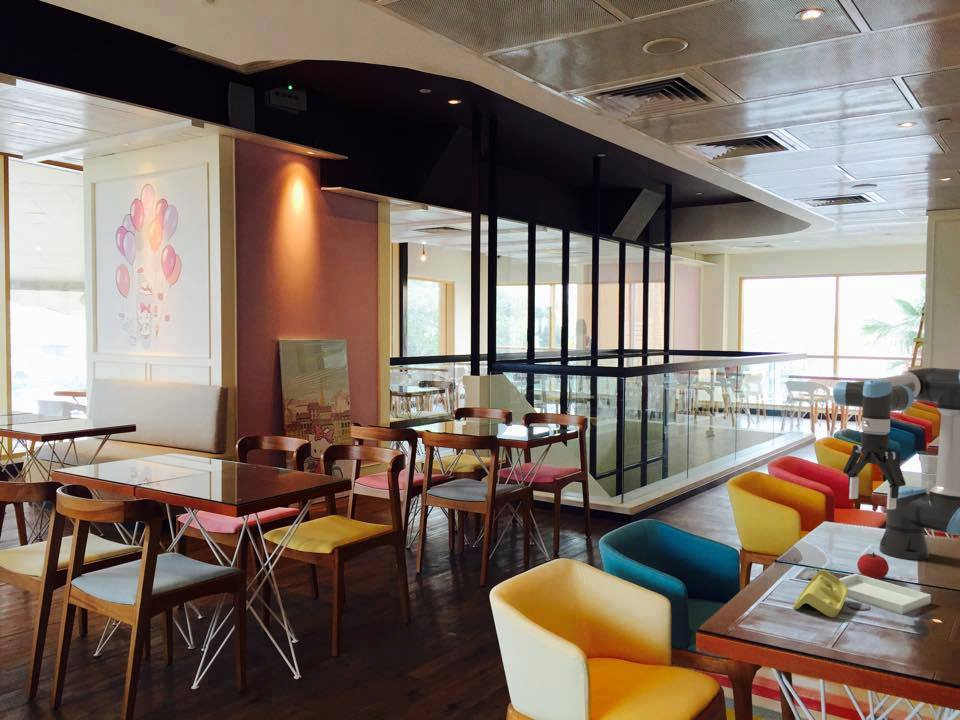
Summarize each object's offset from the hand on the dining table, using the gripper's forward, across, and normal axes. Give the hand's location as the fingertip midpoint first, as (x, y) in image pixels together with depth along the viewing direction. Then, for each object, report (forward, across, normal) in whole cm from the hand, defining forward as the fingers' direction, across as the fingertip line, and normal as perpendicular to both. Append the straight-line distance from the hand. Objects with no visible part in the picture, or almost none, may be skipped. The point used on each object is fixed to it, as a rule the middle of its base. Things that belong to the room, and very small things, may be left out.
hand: (871, 503), depth 234 cm
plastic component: (+26, +7, -24) cm, 36 cm away
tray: (+26, +6, -3) cm, 27 cm away
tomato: (+26, -7, +10) cm, 29 cm away
